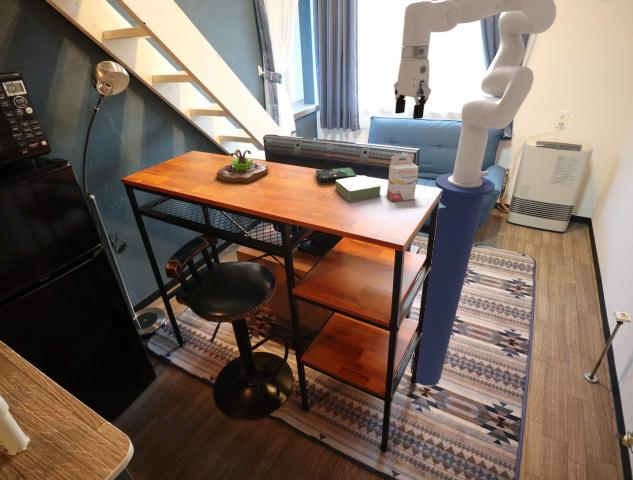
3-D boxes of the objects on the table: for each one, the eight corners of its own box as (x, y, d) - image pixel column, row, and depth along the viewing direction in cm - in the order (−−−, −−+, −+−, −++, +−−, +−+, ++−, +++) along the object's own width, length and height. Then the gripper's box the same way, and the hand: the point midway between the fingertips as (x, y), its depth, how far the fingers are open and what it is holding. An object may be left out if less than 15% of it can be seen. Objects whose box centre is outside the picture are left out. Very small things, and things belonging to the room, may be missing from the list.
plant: (209, 180, 141) (204, 153, 136) (235, 165, 157) (231, 140, 151) (251, 185, 135) (248, 157, 129) (274, 169, 151) (271, 144, 145)
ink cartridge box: (391, 201, 119) (395, 159, 111) (386, 196, 123) (389, 155, 115) (414, 199, 120) (420, 157, 112) (409, 193, 124) (414, 153, 117)
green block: (363, 185, 132) (364, 175, 130) (379, 196, 123) (380, 185, 121) (335, 190, 129) (335, 179, 127) (349, 202, 119) (349, 191, 117)
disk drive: (320, 185, 134) (356, 181, 136) (319, 178, 133) (357, 174, 134) (315, 176, 143) (350, 172, 145) (315, 169, 141) (350, 166, 143)
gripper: (445, 53, 93) (436, 119, 101) (408, 52, 107) (403, 110, 115) (422, 55, 90) (414, 122, 99) (387, 53, 104) (383, 112, 113)
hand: (408, 115), depth 107 cm, fingers open, 9 cm apart
